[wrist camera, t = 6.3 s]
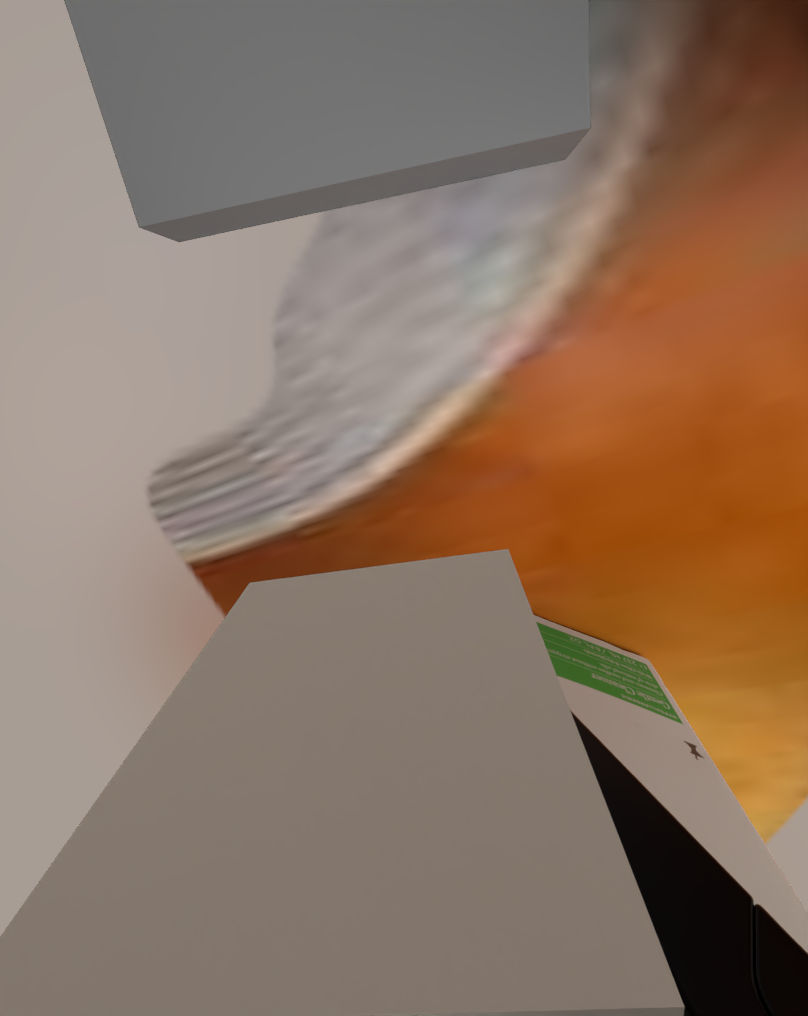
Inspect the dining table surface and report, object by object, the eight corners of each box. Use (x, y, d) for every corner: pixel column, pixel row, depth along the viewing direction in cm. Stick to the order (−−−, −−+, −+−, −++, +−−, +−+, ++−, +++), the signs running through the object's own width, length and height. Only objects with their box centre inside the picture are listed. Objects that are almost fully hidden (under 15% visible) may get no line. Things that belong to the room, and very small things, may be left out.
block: (508, 548, 8) (684, 1007, 3) (527, 748, 10) (657, 1276, 4) (249, 582, 9) (-63, 1025, 3) (311, 766, 10) (180, 1262, 5)
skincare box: (649, 656, 22) (1063, 1253, 8) (581, 744, 25) (803, 1330, 10) (498, 598, 22) (647, 1146, 7) (442, 695, 24) (467, 1256, 9)
